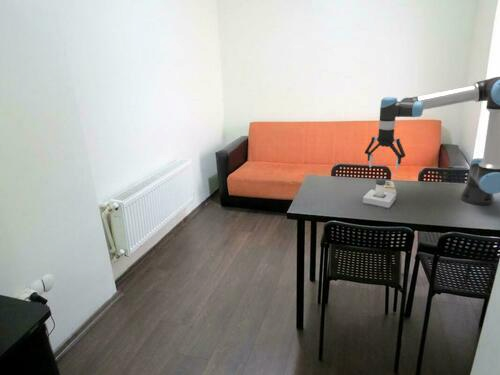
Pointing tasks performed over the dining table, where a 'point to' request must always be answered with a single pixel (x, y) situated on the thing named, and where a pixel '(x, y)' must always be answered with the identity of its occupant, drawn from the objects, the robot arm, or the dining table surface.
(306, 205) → the dining table surface
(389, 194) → the socket block
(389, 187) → the electrical outlet
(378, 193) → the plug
